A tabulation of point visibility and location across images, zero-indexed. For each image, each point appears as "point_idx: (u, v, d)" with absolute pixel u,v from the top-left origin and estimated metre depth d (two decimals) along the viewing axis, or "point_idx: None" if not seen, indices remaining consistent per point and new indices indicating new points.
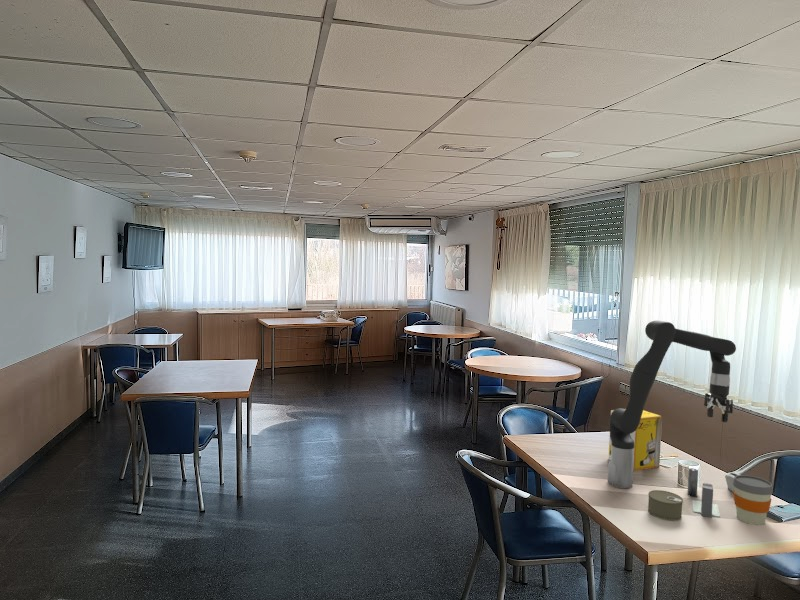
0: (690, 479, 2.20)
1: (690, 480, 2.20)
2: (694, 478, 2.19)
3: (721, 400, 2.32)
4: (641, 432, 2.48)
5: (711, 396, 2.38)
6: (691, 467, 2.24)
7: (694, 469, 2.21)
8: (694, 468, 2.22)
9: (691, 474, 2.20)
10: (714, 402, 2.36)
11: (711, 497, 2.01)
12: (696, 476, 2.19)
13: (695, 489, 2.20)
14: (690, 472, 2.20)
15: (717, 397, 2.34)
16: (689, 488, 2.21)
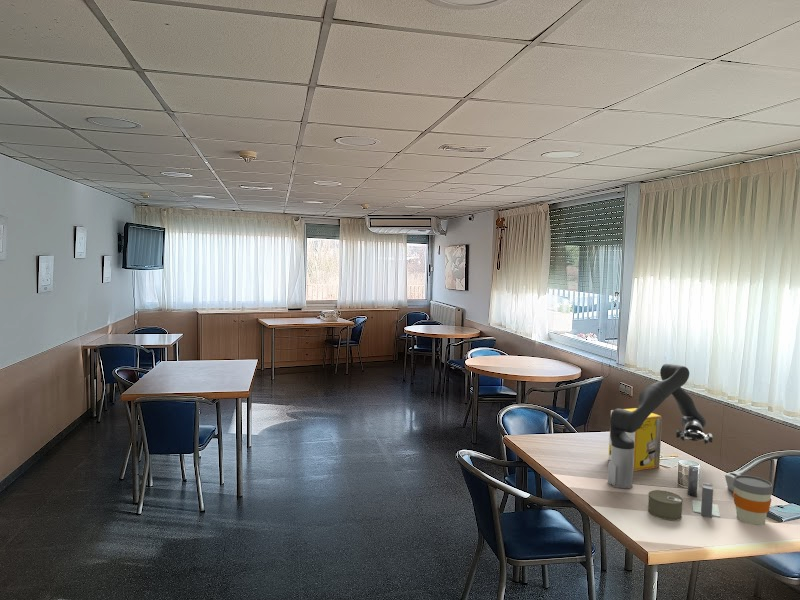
0: (690, 479, 2.20)
1: (690, 480, 2.20)
2: (694, 478, 2.19)
3: (701, 433, 2.39)
4: (641, 432, 2.48)
5: (686, 430, 2.42)
6: (691, 467, 2.24)
7: (694, 469, 2.21)
8: (694, 468, 2.22)
9: (691, 474, 2.20)
10: (691, 432, 2.39)
11: (711, 497, 2.01)
12: (696, 476, 2.19)
13: (695, 489, 2.20)
14: (690, 472, 2.20)
15: (694, 431, 2.40)
16: (689, 488, 2.21)
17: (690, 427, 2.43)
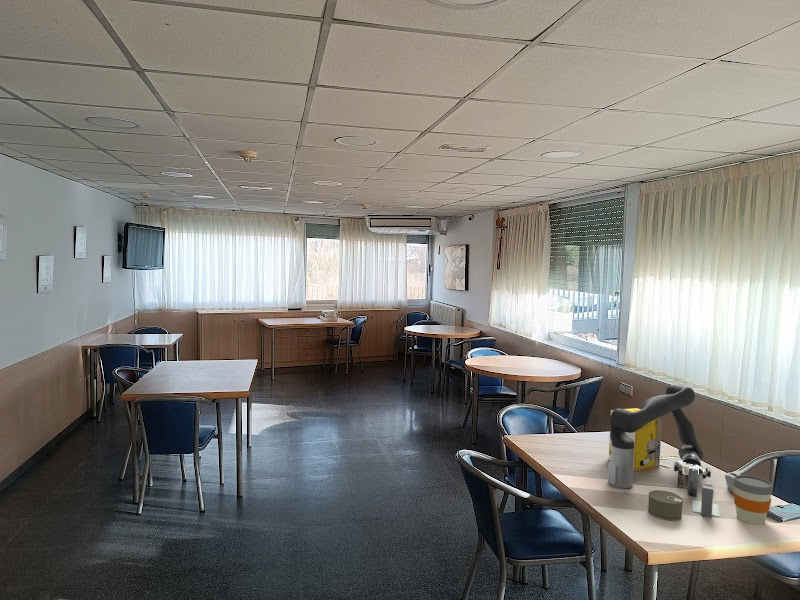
0: (690, 479, 2.20)
1: (690, 480, 2.20)
2: (694, 478, 2.19)
3: (699, 467, 2.35)
4: (641, 432, 2.48)
5: None
6: (691, 467, 2.24)
7: (694, 469, 2.21)
8: (694, 468, 2.22)
9: (691, 474, 2.20)
10: None
11: (711, 497, 2.01)
12: (696, 476, 2.19)
13: (695, 489, 2.20)
14: (690, 472, 2.20)
15: None
16: (689, 488, 2.21)
17: (688, 460, 2.39)
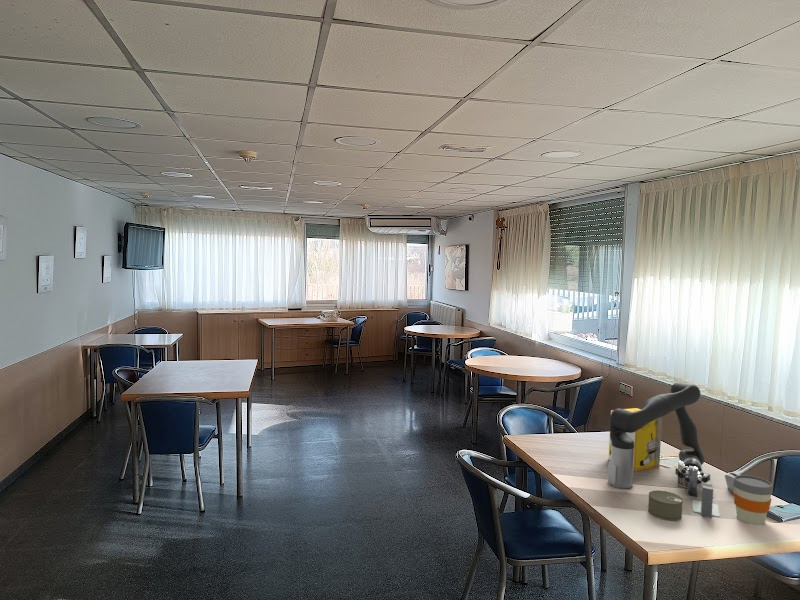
0: (690, 479, 2.20)
1: (690, 480, 2.20)
2: (694, 478, 2.19)
3: (700, 472, 2.28)
4: (641, 432, 2.48)
5: (684, 469, 2.31)
6: (691, 467, 2.24)
7: (694, 469, 2.21)
8: (694, 468, 2.22)
9: (691, 474, 2.20)
10: None
11: (711, 497, 2.01)
12: (696, 476, 2.19)
13: (695, 489, 2.20)
14: (690, 472, 2.20)
15: None
16: (689, 488, 2.21)
17: (688, 465, 2.32)
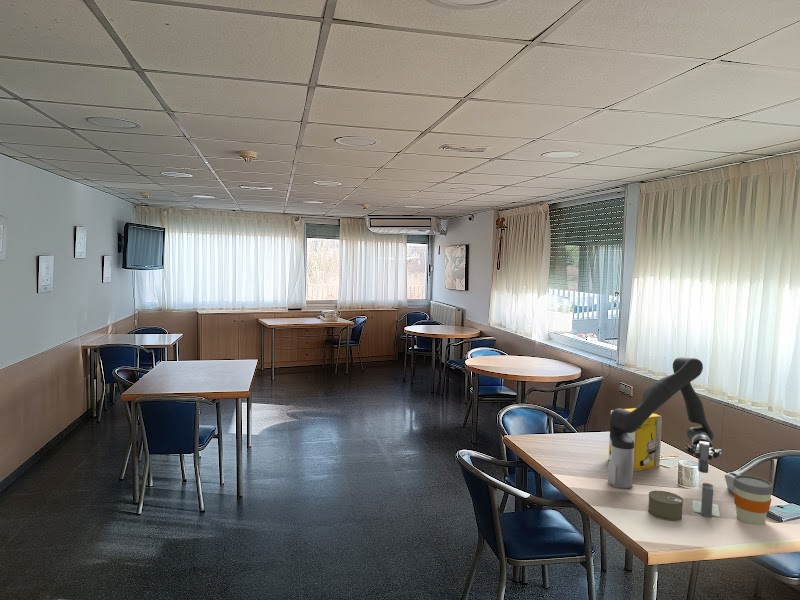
0: (701, 454, 2.11)
1: (701, 455, 2.11)
2: (705, 453, 2.10)
3: (711, 447, 2.19)
4: (641, 432, 2.48)
5: (694, 445, 2.22)
6: (702, 442, 2.15)
7: (705, 444, 2.12)
8: (705, 443, 2.13)
9: (702, 449, 2.11)
10: None
11: (711, 497, 2.01)
12: (707, 451, 2.11)
13: (706, 465, 2.11)
14: (701, 447, 2.11)
15: None
16: (700, 464, 2.12)
17: (698, 441, 2.23)
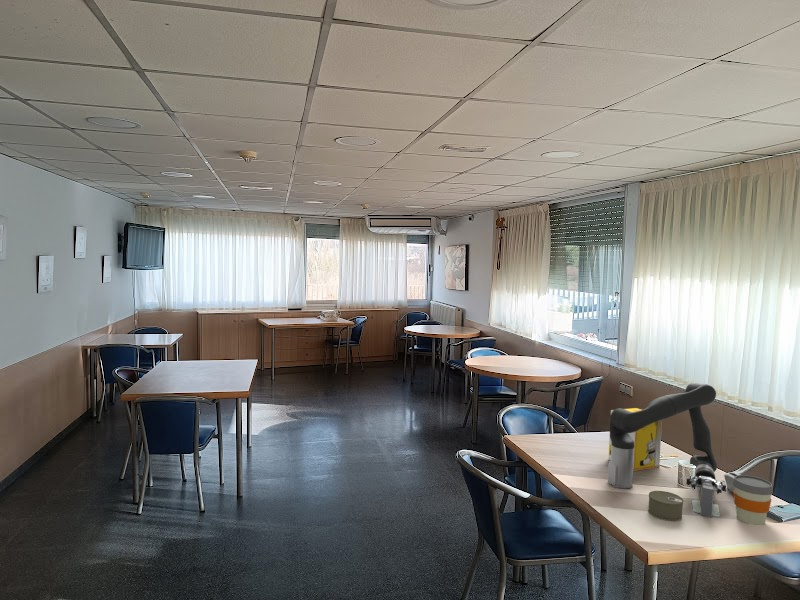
0: None
1: None
2: None
3: (714, 480, 2.16)
4: (641, 432, 2.48)
5: (697, 476, 2.19)
6: (704, 477, 2.11)
7: (707, 480, 2.09)
8: (708, 479, 2.10)
9: None
10: None
11: (711, 497, 2.01)
12: None
13: None
14: None
15: None
16: None
17: (701, 473, 2.20)
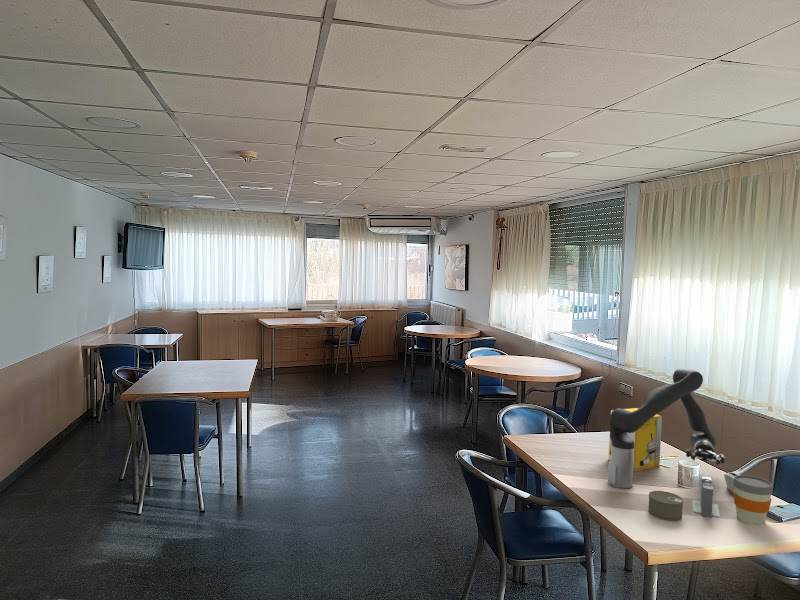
0: None
1: None
2: None
3: (713, 453, 2.27)
4: (641, 432, 2.48)
5: (696, 450, 2.30)
6: (704, 477, 2.11)
7: (707, 480, 2.09)
8: (708, 479, 2.10)
9: None
10: (702, 452, 2.27)
11: (711, 497, 2.01)
12: None
13: None
14: None
15: (705, 451, 2.28)
16: None
17: (701, 446, 2.31)
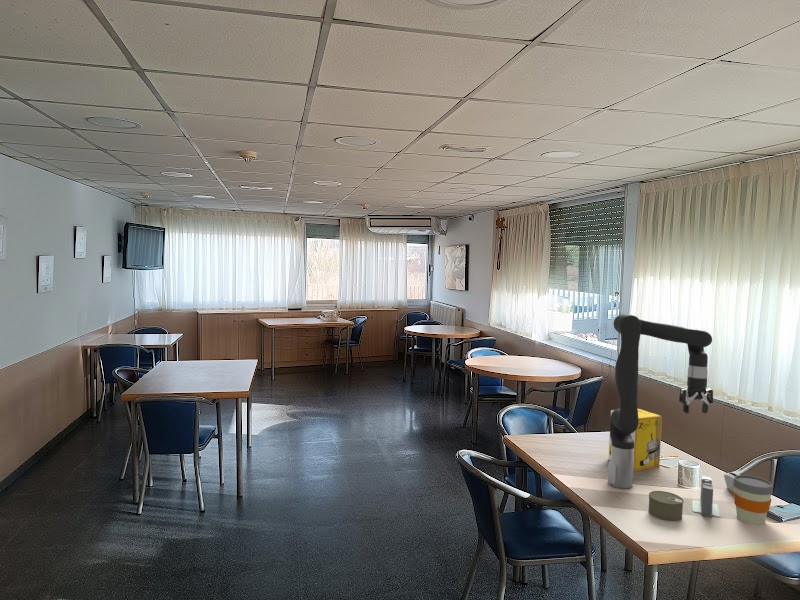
0: None
1: None
2: None
3: (704, 392, 2.27)
4: (641, 432, 2.48)
5: (691, 391, 2.26)
6: (704, 477, 2.11)
7: (707, 480, 2.09)
8: (708, 479, 2.10)
9: None
10: (696, 396, 2.27)
11: (711, 497, 2.01)
12: None
13: None
14: None
15: (699, 391, 2.27)
16: None
17: (697, 388, 2.25)
